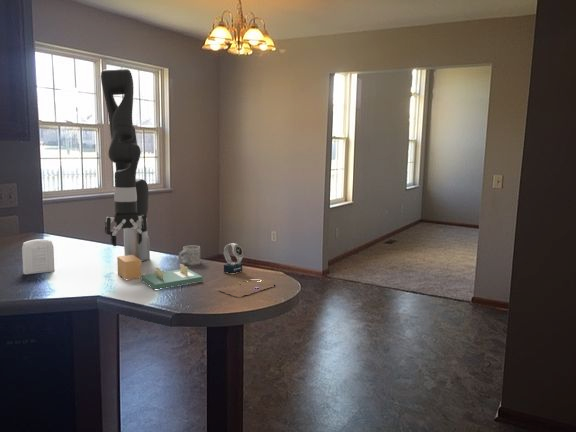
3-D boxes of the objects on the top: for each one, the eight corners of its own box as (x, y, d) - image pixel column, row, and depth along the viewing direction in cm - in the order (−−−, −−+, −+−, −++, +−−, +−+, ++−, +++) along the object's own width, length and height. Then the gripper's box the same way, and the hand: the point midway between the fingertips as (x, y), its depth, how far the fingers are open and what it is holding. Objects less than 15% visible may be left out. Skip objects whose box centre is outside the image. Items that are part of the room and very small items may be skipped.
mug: (192, 260, 197) (192, 244, 196) (203, 263, 193) (203, 246, 192) (173, 265, 189) (173, 248, 188) (185, 268, 185) (184, 251, 184)
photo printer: (53, 269, 180) (52, 237, 178) (55, 271, 177) (53, 239, 175) (22, 272, 175) (20, 239, 173) (24, 275, 171) (21, 241, 169)
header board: (186, 273, 178) (186, 260, 177) (202, 282, 167) (202, 268, 166) (141, 280, 168) (141, 266, 167) (155, 290, 157) (155, 275, 156)
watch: (236, 275, 176) (236, 246, 174) (220, 271, 181) (220, 243, 179) (246, 272, 181) (246, 243, 179) (230, 268, 185) (230, 241, 183)
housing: (133, 271, 179) (132, 254, 178) (141, 277, 171) (141, 259, 170) (117, 273, 176) (117, 256, 174) (125, 279, 168) (125, 262, 167)
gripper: (142, 198, 176) (142, 241, 178) (102, 199, 168) (103, 244, 170) (149, 200, 170) (149, 244, 172) (107, 201, 162) (109, 248, 164)
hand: (126, 244), depth 171 cm, fingers open, 8 cm apart
